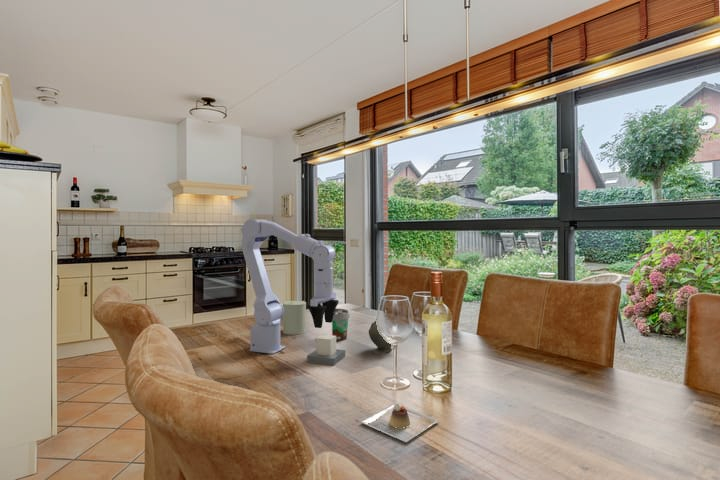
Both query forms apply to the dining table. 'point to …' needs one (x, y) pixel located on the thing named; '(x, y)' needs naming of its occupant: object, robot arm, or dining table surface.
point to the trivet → (326, 357)
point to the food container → (340, 324)
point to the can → (294, 317)
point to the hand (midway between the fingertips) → (323, 324)
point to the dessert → (398, 419)
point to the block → (326, 345)
